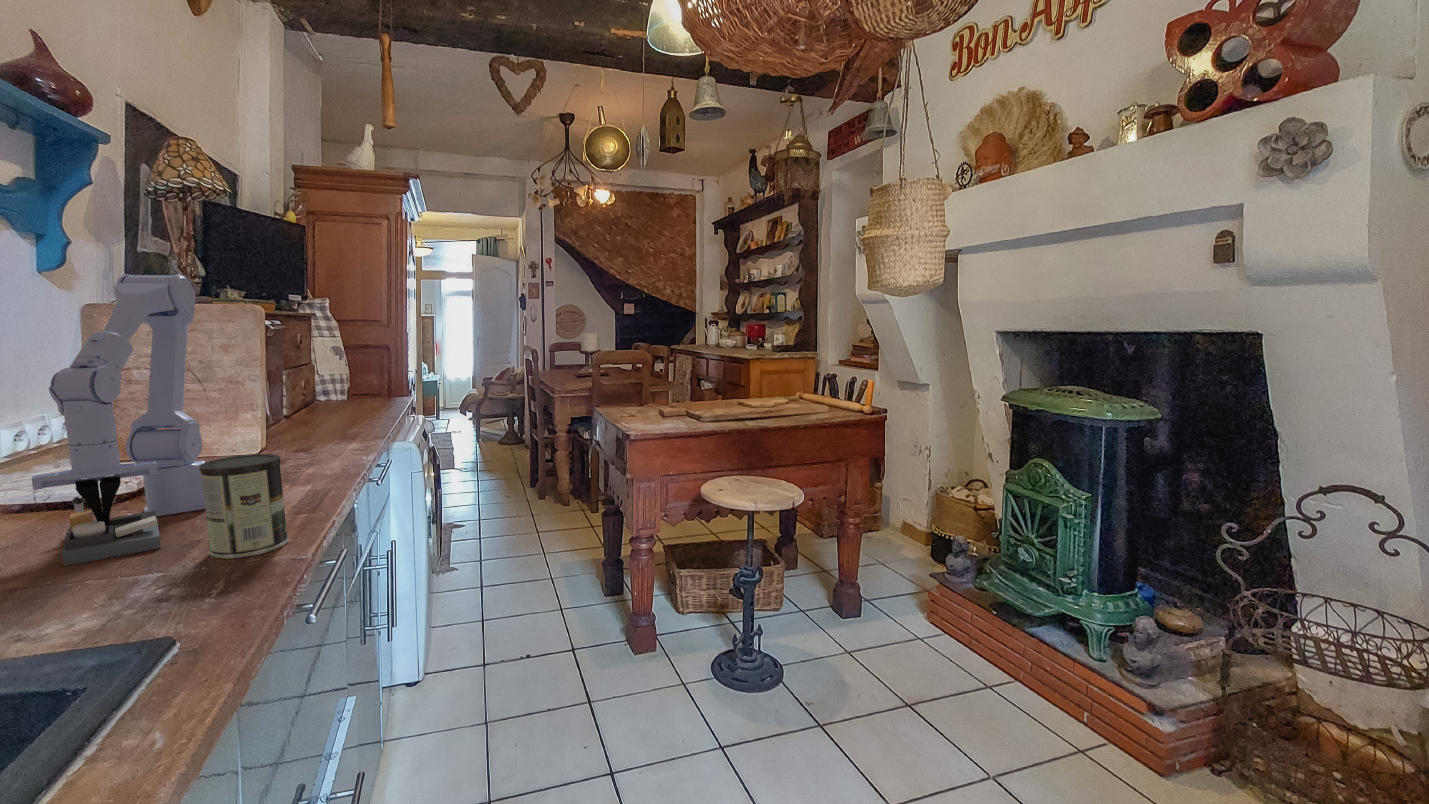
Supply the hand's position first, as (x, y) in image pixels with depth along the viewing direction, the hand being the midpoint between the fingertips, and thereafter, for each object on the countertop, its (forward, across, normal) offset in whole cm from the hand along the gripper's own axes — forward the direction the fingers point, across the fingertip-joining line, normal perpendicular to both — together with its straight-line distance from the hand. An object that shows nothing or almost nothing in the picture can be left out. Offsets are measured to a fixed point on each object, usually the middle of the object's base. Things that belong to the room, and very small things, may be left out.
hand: (104, 524), depth 106 cm
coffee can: (+3, +17, -19) cm, 26 cm away
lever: (0, -3, +6) cm, 6 cm away
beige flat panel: (0, +4, -6) cm, 7 cm away
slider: (+1, -3, 0) cm, 3 cm away
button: (0, -1, -6) cm, 6 cm away
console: (+3, +1, -1) cm, 3 cm away
